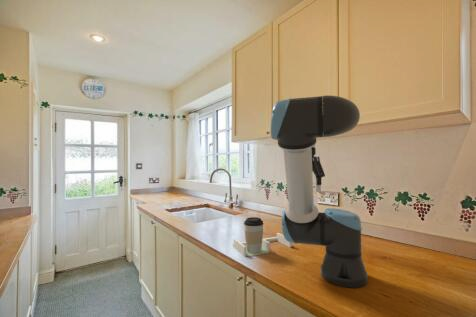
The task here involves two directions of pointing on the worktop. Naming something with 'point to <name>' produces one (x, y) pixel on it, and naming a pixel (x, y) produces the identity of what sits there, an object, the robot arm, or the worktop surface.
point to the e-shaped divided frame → (265, 243)
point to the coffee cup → (253, 234)
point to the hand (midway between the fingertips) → (308, 190)
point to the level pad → (257, 253)
